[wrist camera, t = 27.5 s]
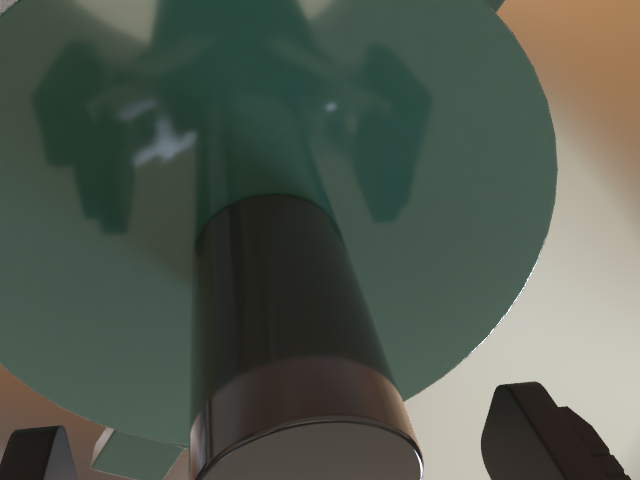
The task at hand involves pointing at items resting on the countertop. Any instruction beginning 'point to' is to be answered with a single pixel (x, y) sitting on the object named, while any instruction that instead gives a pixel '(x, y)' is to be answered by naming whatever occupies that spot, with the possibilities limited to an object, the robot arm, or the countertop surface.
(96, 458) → the pot
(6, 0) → the countertop surface
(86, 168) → the pot lid
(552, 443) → the robot arm
